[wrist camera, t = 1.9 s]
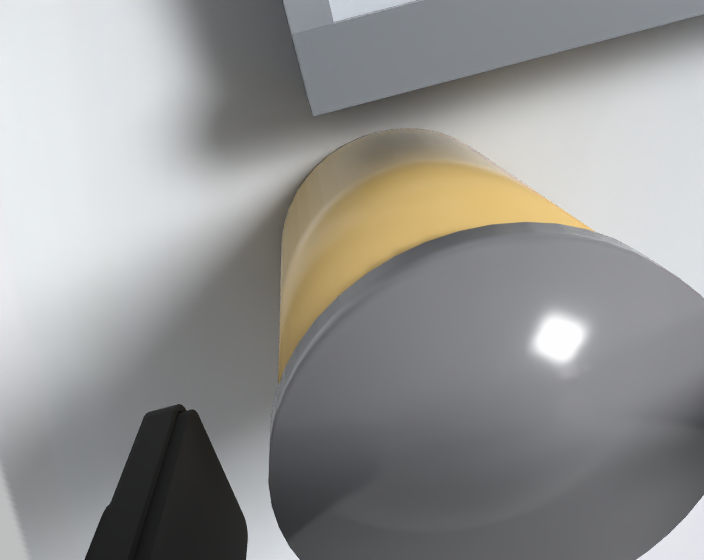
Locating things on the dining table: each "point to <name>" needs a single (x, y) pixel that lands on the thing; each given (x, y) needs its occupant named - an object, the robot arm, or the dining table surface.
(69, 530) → the dining table surface
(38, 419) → the dining table surface
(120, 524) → the robot arm
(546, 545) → the honey jar
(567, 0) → the grey open rectangular box
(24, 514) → the dining table surface
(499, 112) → the dining table surface
